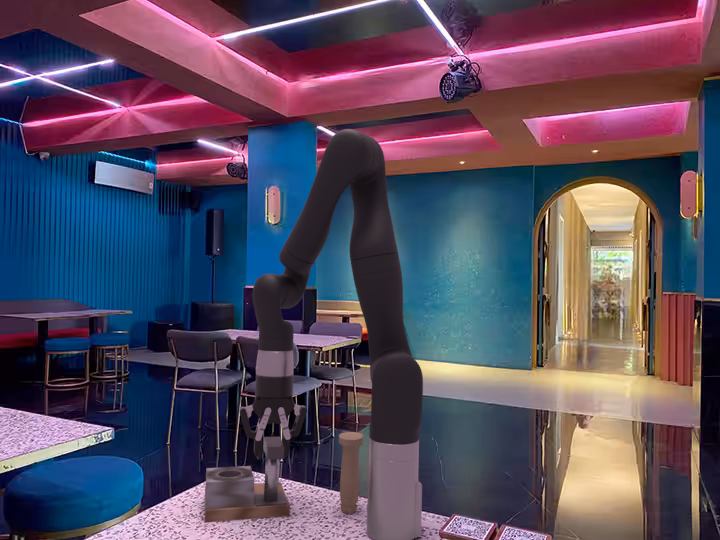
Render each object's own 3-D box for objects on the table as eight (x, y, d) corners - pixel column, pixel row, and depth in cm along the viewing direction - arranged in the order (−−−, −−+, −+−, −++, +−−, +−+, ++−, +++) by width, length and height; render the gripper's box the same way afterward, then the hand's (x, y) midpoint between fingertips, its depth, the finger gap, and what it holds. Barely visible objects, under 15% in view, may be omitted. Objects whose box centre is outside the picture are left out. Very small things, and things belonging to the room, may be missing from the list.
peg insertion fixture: (280, 491, 121) (281, 459, 122) (289, 515, 108) (290, 479, 108) (204, 496, 117) (206, 462, 118) (204, 522, 104) (206, 484, 104)
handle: (362, 506, 114) (364, 432, 115) (358, 518, 108) (360, 440, 109) (339, 504, 115) (342, 431, 116) (334, 516, 108) (336, 438, 109)
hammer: (281, 505, 107) (284, 446, 108) (264, 506, 106) (267, 447, 107) (276, 492, 114) (279, 436, 114) (260, 492, 113) (264, 437, 113)
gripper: (240, 375, 106) (236, 465, 105) (312, 374, 110) (309, 461, 109) (237, 370, 114) (234, 454, 113) (306, 369, 117) (303, 451, 116)
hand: (271, 457), depth 111 cm, fingers open, 4 cm apart
